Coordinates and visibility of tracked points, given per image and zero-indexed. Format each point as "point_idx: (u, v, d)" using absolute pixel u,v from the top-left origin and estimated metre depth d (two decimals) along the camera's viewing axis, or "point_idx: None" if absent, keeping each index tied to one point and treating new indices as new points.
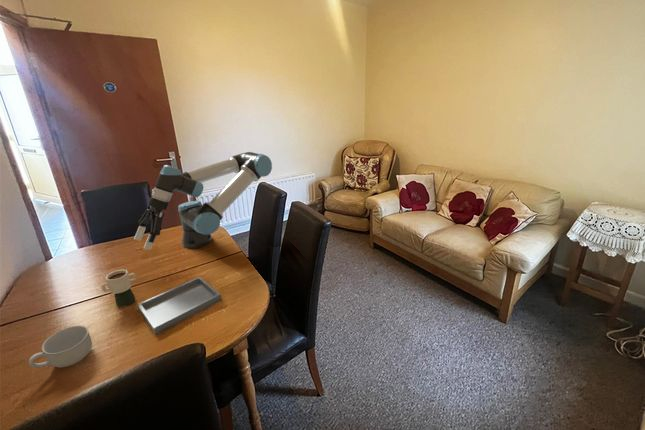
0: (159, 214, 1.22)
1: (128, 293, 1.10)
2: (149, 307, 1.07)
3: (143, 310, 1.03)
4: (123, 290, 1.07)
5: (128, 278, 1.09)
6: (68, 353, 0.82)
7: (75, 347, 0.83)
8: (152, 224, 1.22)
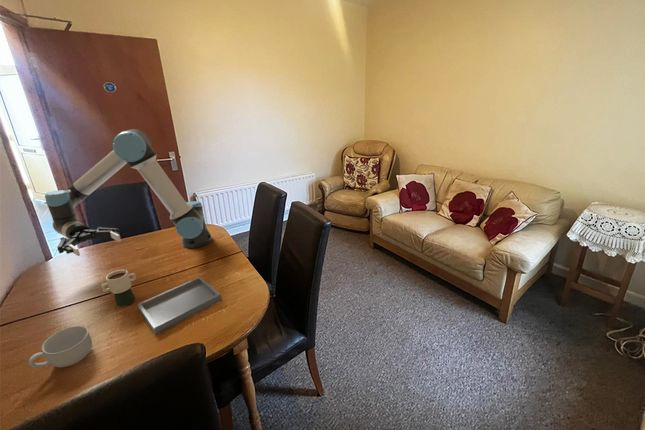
0: None
1: (128, 293, 1.10)
2: (149, 307, 1.07)
3: (143, 310, 1.03)
4: (123, 290, 1.07)
5: (128, 278, 1.09)
6: (68, 353, 0.82)
7: (75, 347, 0.83)
8: None
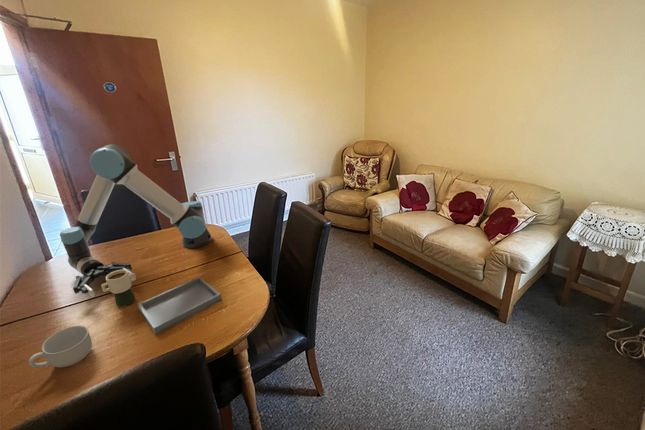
0: None
1: (128, 293, 1.10)
2: (149, 307, 1.07)
3: (143, 310, 1.03)
4: (123, 290, 1.07)
5: (128, 278, 1.09)
6: (68, 353, 0.82)
7: (75, 347, 0.83)
8: (86, 285, 1.13)
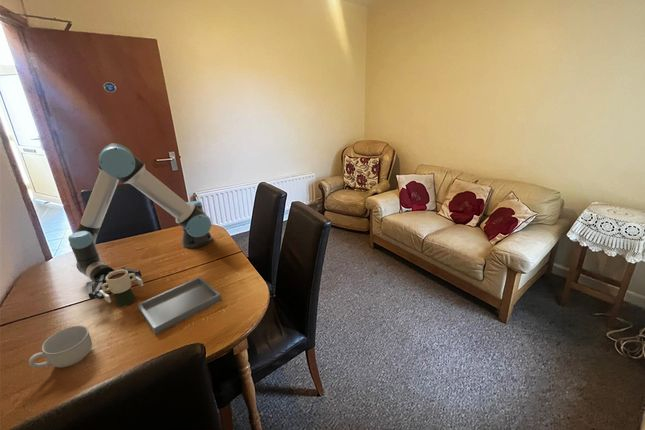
0: (88, 287, 1.10)
1: (128, 293, 1.10)
2: (149, 307, 1.07)
3: (143, 310, 1.03)
4: (123, 290, 1.07)
5: (128, 278, 1.09)
6: (68, 353, 0.82)
7: (75, 347, 0.83)
8: None
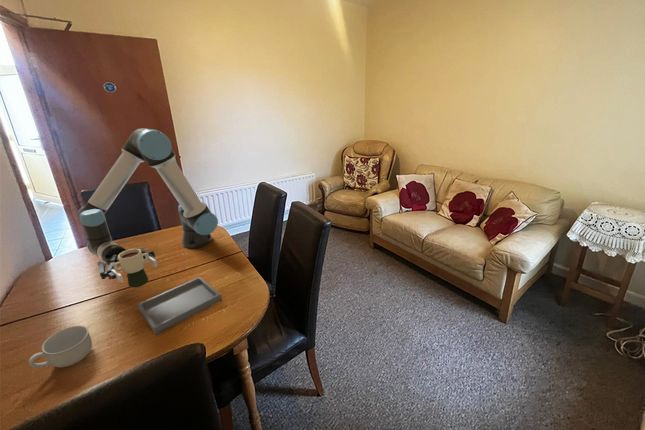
0: None
1: (141, 274, 1.03)
2: (149, 307, 1.07)
3: (143, 310, 1.03)
4: (136, 270, 1.00)
5: (141, 257, 1.02)
6: (68, 353, 0.82)
7: (75, 347, 0.83)
8: None
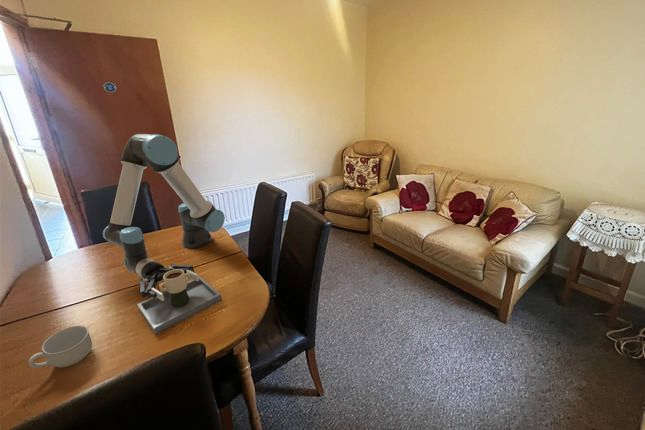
0: (140, 284, 1.07)
1: (184, 293, 1.07)
2: (149, 307, 1.07)
3: (143, 310, 1.03)
4: (180, 290, 1.05)
5: (184, 278, 1.06)
6: (68, 353, 0.82)
7: (75, 347, 0.83)
8: None
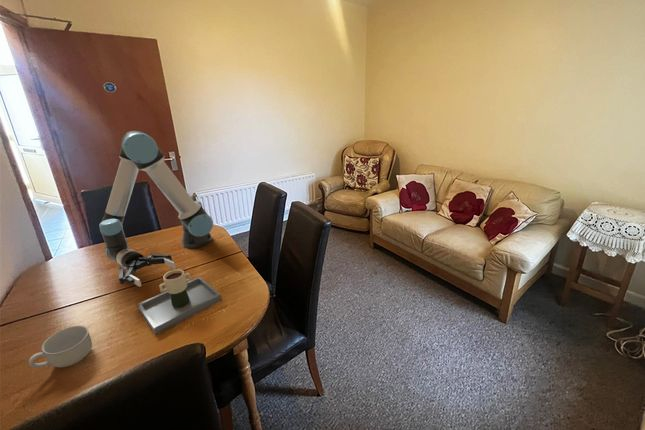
0: None
1: (184, 293, 1.07)
2: (149, 307, 1.07)
3: (143, 310, 1.03)
4: (180, 290, 1.04)
5: (184, 278, 1.06)
6: (68, 353, 0.82)
7: (75, 347, 0.83)
8: None
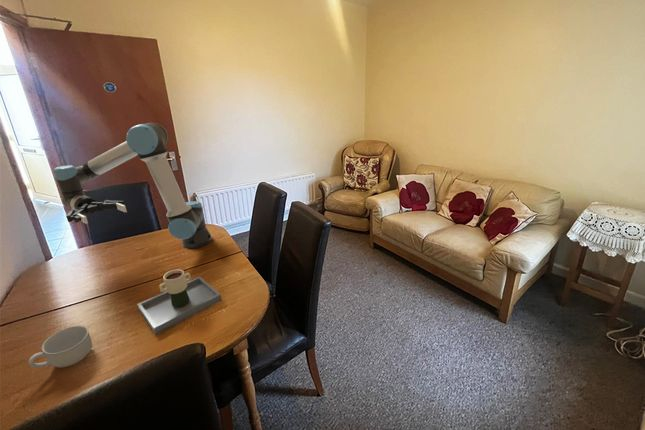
0: None
1: (184, 293, 1.07)
2: (149, 307, 1.07)
3: (143, 310, 1.03)
4: (180, 290, 1.04)
5: (184, 278, 1.06)
6: (68, 353, 0.82)
7: (75, 347, 0.83)
8: None
